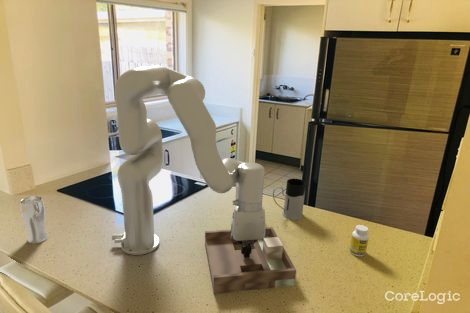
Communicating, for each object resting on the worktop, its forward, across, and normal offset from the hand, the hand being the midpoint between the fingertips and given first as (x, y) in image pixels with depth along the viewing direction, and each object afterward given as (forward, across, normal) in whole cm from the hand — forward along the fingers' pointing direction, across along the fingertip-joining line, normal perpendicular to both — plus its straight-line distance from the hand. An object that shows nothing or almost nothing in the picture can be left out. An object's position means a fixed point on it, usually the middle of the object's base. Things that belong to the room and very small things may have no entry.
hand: (245, 255), depth 104 cm
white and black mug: (+3, +24, +29) cm, 38 cm away
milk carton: (+4, +6, +29) cm, 30 cm away
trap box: (+3, 0, 0) cm, 3 cm away
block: (+1, +9, 0) cm, 9 cm away
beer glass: (+4, -69, +23) cm, 73 cm away
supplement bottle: (+3, +40, +1) cm, 40 cm away
